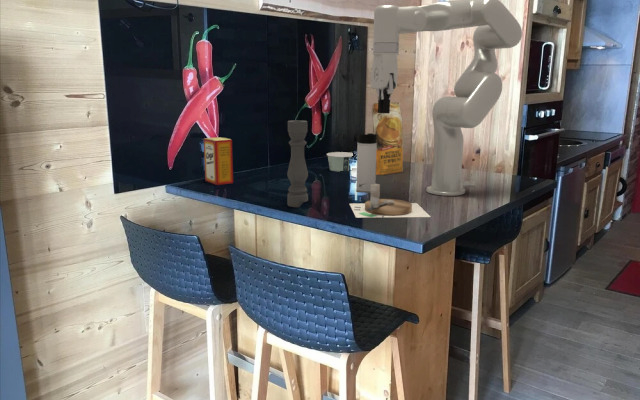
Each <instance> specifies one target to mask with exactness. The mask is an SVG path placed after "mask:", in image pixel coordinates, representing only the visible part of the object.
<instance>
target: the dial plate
mask: <svg viewBox="0 0 640 400" xmlns="http://www.w3.org/2000/svg"><path fill="white" fill-rule="evenodd" d="M410 203H411V202H410ZM411 204H412V211H411V212H410V213H407V214H402V215H381V214H375V213H371V212H368V211H366V210H365V202H364V203H349V206H350V208H351V210H352V213H353V214H354V217H355V218H357V219H358V218H359V219H360V218H371V219H373V218H431V215H430V214H429V213H428V212H426V210H424V209H423V207H421V206H420V205H419V204H418V203H417V202H412V203H411Z"/></svg>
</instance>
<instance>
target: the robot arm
mask: <svg viewBox="0 0 640 400" xmlns="http://www.w3.org/2000/svg"><path fill="white" fill-rule="evenodd" d="M474 27H476V28H475V30H474V31H473V36H472V40H473V41H472V42H473V51H474V56H473V59H472V61H471V62H470V64H469V65H468V66H467V67H466V68H465V70H464V71H463V73H462V74H461V75H460V76H459V77H458V79H457V81H456V82H455V84H454V87H453V93H454V96H444V97H440V98H439V99H438V100H437V101H435V103H434V104H433V107H432V110H431V112H432V115H431V116H432V124H433V148H432V149H433V150H432V153H433V155H432V169H431V171H432V173H431V185H429V186H426V192H427V193H429V194H432V195H437V196H444V197H445V196H447V197H449V196H451V197H452V196H453V197H454V196H462V195H464V194H465V193H466V188H475V187H476V181H469V180H464V179H463V178H462V167H463V152H464V142H465V141H464V133H463V130H462V129H473V128H476V127H478V126H479V125H480V124H481V123H482V122H483V121H484V119H485V118H486V117H487V116H488V114H489V113H490V112H491V110H492V109H493V108H494V106H495V105H496V104H497V102H498V100H499V99H500V97H501V95H502V91H503V81H502V78H501V77H500V75H498V74H497V73H496V72H497V69H498V59H497V56H496V50H503V49H511V48H513V47H514V48H515V47H516V46H517V45H518V44H519V43H520V42H521V40H522V36H523V30H522V26H521V24H520V23H519V21H518V20H517V18H516V17H515V16H514V15H513V14H512V12H511V11H510V10H509V9H508V8H507V6H505V4H503V3H502V2H501V1H500V0H448V1H447V0H445V1H440V2H439V1H438V2H434V3H430V4H425V5H420V6H417V5H409V6H408V5H407V6H397V5H393V4H383V5H378V6H376V7H375V8H374V11H373V35H372V36H373V39H372V40H373V42H372V55H373V59H372V64H371V76H370V87H371V89H373V90H375V92H376V93H377V103H378V113H390V103H391V99H392V98H391V97H392V94H394V90H395V89H396V88H397V86H398V75H399V72H398V69H399V68H398V66H399V65H398V56H399V53H400V52H399V51H400V49H399V48H400V47H399V46H400V35H404V34H405V35H406V34H414V33H418V32H441V31H450V30H456V29H457V30H459V29H467V28H474Z"/></svg>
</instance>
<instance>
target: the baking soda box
mask: <svg viewBox="0 0 640 400" xmlns="http://www.w3.org/2000/svg"><path fill="white" fill-rule="evenodd" d="M203 156H204V157H203V158H204V159H203V160H204V180H205V182H208V183H210V184H212V185H216V186H220V185H227V184H234V169H233V168H234V167H233V165H234V163H233V162H234V161H233V159H234V158H233V140H232V139H231V138H227V137H221V136H220V137H206V138H203Z"/></svg>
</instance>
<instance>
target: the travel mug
mask: <svg viewBox="0 0 640 400" xmlns="http://www.w3.org/2000/svg"><path fill="white" fill-rule="evenodd" d="M376 140H377V134H374V133H373V132H372V133H371V132H369V133H367V134H364V133H363V134H357V149H356V184H355V185H356V189H355V190H356V193H360V194H364V193H366V194H371V184H376V178H377V175H376V147H377V145H376V144H377V143H376Z"/></svg>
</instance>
